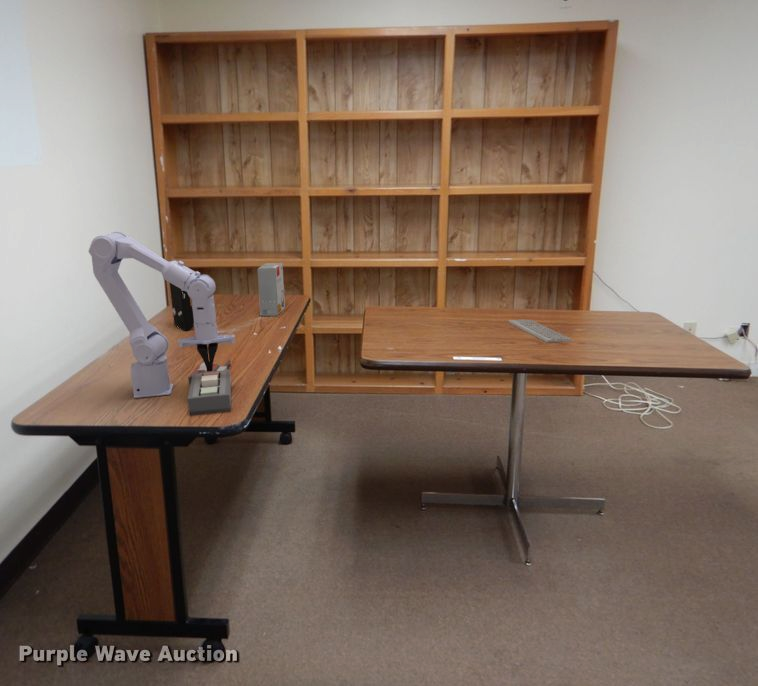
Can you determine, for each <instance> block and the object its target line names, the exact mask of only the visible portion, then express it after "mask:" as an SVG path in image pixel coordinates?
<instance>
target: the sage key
mask: <svg viewBox="0 0 758 686" xmlns="http://www.w3.org/2000/svg"><path fill="white" fill-rule="evenodd" d="M211 394H218V387H207V388H201V395H211Z"/></svg>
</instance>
